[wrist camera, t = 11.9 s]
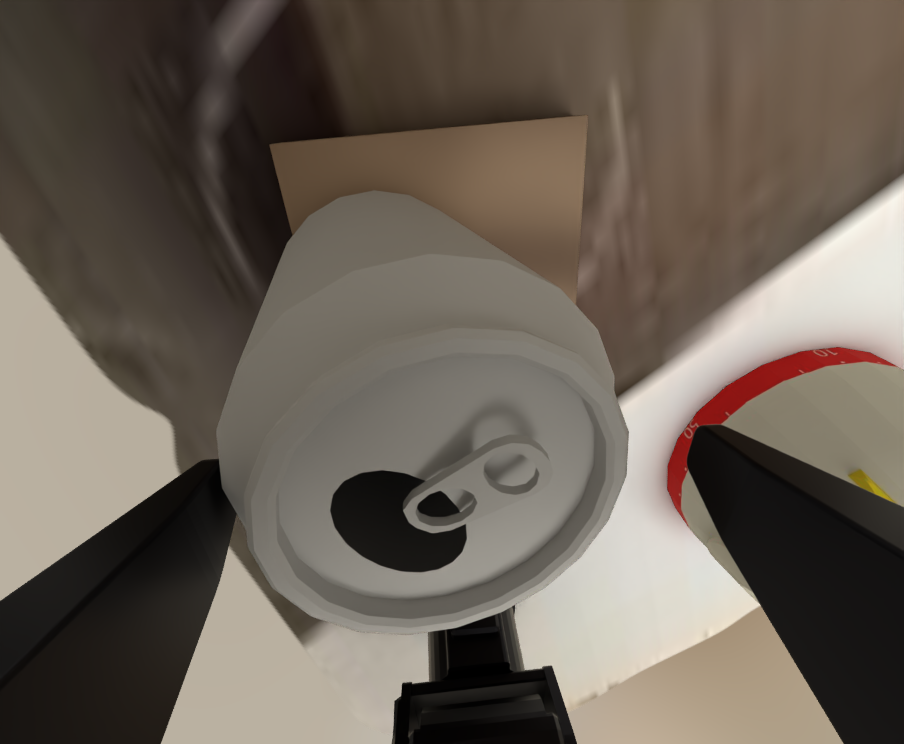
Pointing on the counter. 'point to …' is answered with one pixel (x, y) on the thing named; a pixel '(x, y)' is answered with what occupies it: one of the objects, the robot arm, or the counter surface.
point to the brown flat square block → (461, 182)
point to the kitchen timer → (805, 428)
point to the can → (416, 423)
